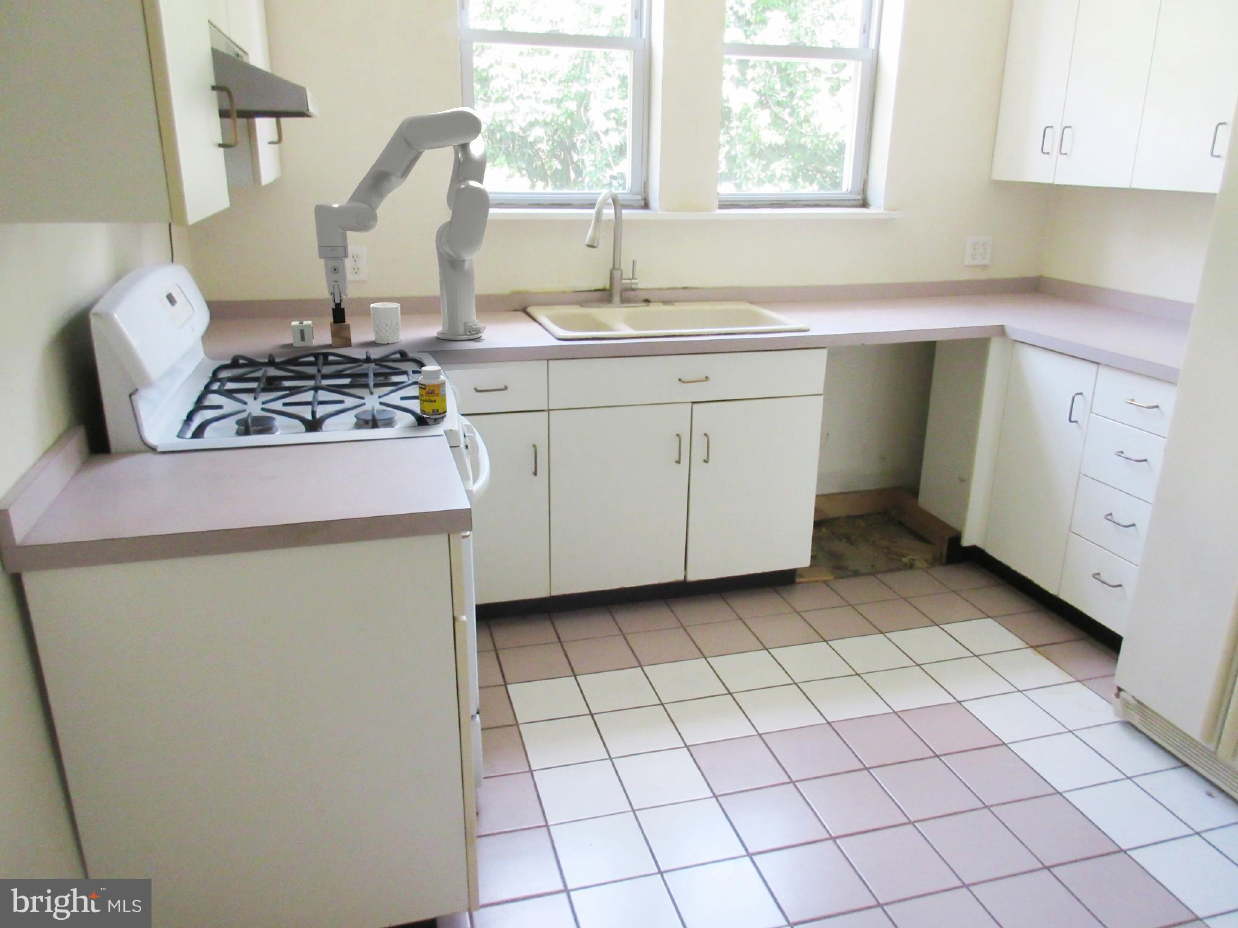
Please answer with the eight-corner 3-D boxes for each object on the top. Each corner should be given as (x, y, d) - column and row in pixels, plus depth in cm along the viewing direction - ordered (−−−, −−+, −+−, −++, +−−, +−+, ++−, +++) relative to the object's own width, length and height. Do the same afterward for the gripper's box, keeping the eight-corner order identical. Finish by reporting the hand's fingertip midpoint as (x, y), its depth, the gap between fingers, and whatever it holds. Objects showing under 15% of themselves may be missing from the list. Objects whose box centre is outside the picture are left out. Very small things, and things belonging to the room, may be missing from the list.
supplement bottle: (415, 417, 179) (411, 369, 176) (429, 410, 184) (426, 363, 180) (438, 420, 177) (435, 372, 174) (452, 413, 182) (449, 366, 178)
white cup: (367, 341, 247) (364, 304, 243) (391, 337, 252) (389, 301, 249) (383, 345, 242) (380, 308, 238) (408, 341, 247) (405, 305, 244)
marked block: (314, 342, 245) (312, 320, 243) (314, 346, 240) (311, 323, 238) (294, 343, 244) (291, 320, 242) (293, 347, 239) (291, 324, 237)
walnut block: (351, 342, 245) (349, 320, 243) (351, 346, 240) (349, 324, 238) (332, 343, 244) (329, 321, 242) (332, 347, 239) (330, 324, 237)
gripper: (349, 255, 228) (355, 327, 234) (347, 249, 242) (353, 317, 248) (317, 256, 226) (324, 328, 232) (318, 249, 240) (324, 318, 246)
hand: (339, 322), depth 240 cm, fingers closed
